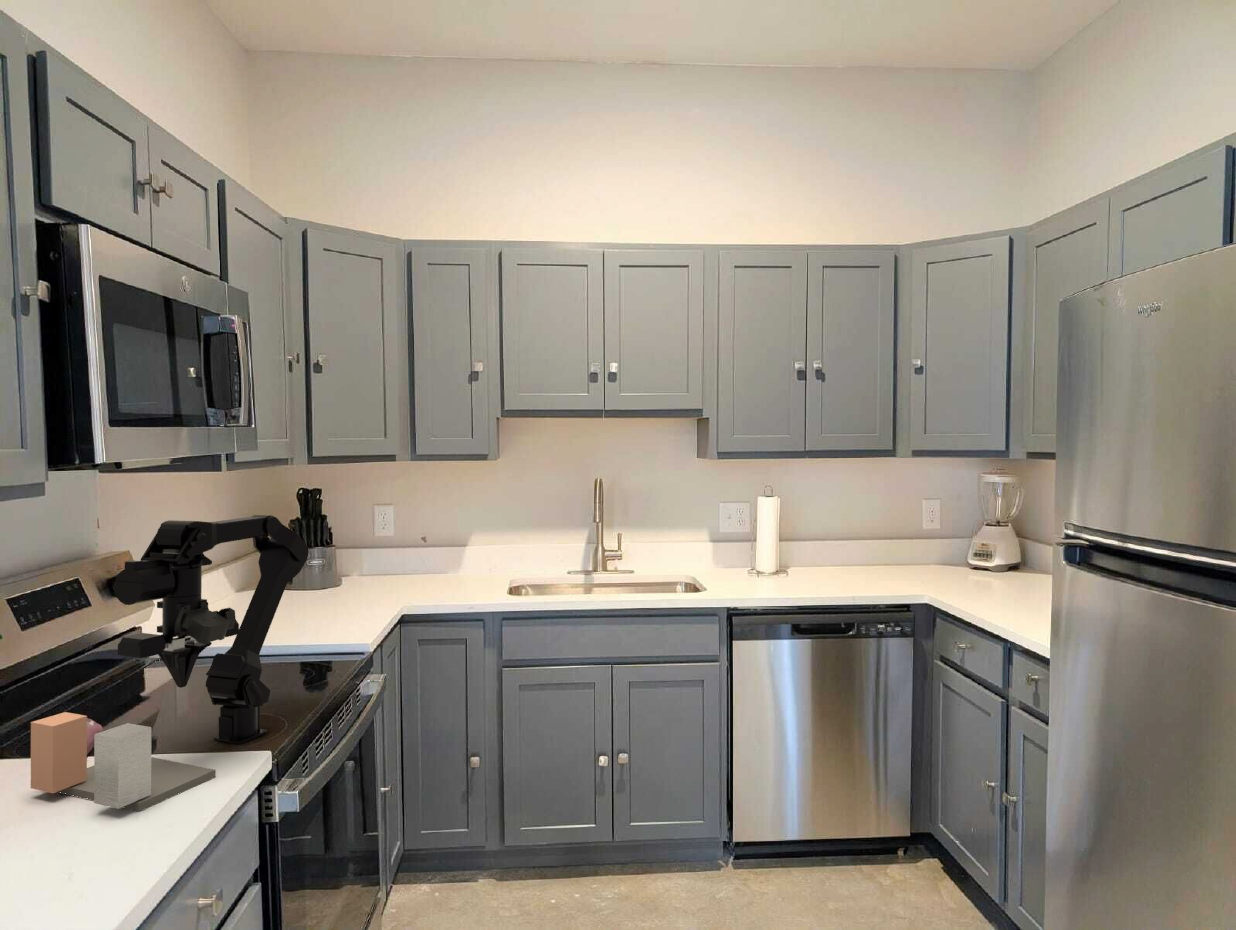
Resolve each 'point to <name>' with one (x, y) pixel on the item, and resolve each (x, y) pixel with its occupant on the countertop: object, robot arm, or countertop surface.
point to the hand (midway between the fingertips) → (181, 686)
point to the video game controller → (92, 733)
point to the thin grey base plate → (153, 782)
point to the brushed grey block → (122, 765)
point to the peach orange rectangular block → (58, 752)
